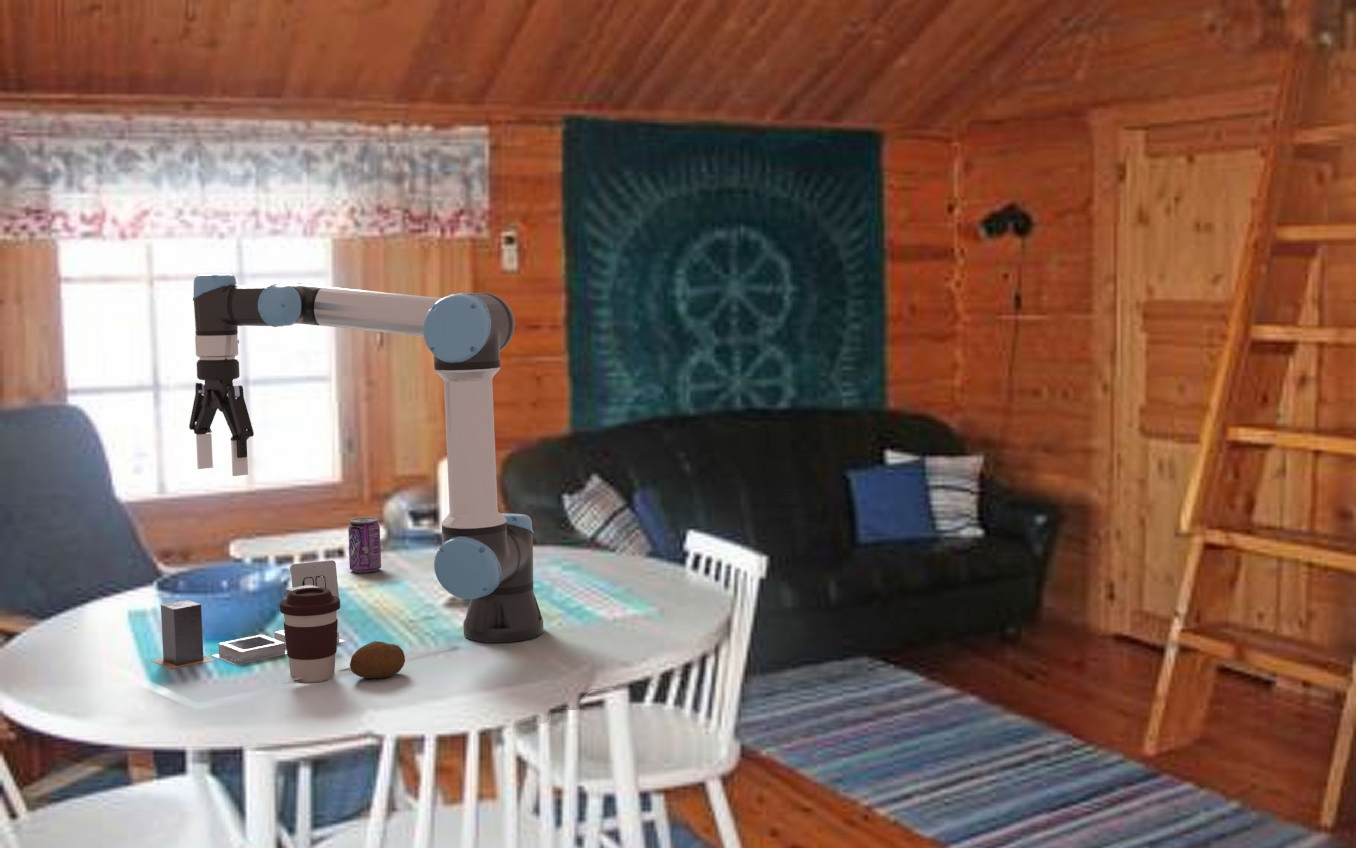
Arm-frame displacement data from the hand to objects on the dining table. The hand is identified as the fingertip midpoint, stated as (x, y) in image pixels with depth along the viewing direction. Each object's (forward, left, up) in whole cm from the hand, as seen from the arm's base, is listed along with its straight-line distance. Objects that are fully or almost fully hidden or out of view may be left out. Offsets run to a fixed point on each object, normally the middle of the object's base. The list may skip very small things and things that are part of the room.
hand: (222, 471), depth 266 cm
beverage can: (+33, -51, -32) cm, 69 cm away
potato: (-43, -5, -32) cm, 54 cm away
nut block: (-12, +15, -31) cm, 36 cm away
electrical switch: (+12, -25, -32) cm, 42 cm away
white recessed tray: (-17, -1, -32) cm, 36 cm away
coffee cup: (-35, +3, -32) cm, 47 cm away
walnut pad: (-12, +15, -32) cm, 37 cm away
